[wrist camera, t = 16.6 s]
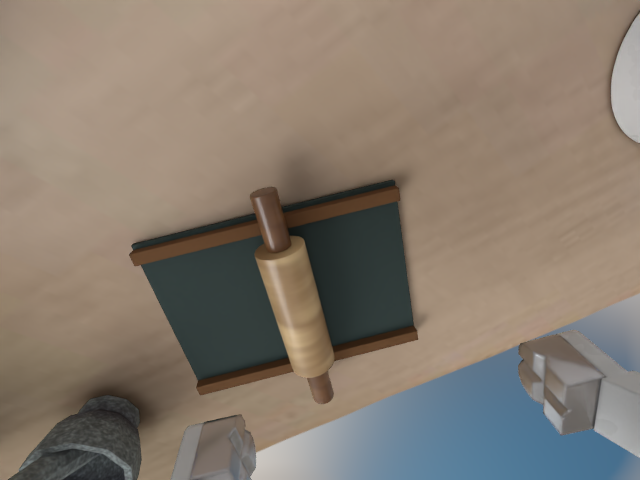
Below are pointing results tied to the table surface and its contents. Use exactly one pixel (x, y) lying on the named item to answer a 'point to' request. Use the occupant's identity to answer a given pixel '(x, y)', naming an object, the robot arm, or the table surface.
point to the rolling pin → (293, 295)
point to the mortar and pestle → (89, 445)
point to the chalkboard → (251, 296)
